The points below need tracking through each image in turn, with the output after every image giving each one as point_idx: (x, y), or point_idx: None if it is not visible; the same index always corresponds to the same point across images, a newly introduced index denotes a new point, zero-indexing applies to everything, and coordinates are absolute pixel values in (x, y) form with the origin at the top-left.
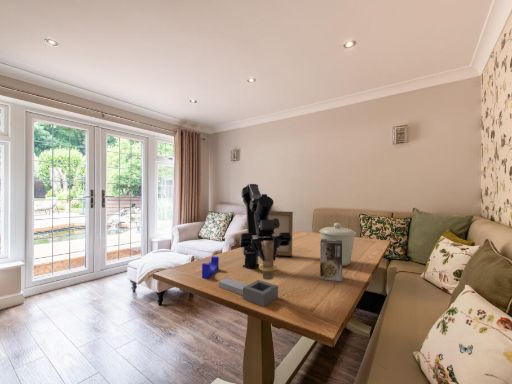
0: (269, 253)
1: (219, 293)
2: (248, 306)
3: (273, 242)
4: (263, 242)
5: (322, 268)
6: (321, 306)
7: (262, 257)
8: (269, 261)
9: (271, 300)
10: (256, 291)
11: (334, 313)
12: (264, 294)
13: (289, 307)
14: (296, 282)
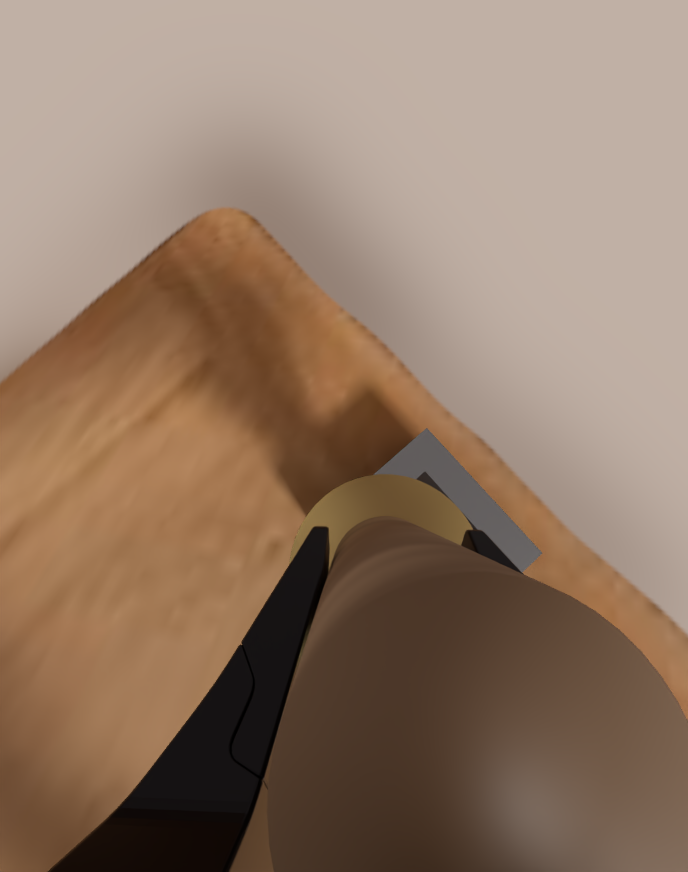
0: (410, 532)
1: (645, 643)
2: (487, 455)
3: (302, 663)
4: (670, 774)
5: None
6: (143, 393)
7: (500, 551)
8: (393, 519)
9: None
10: (462, 475)
11: (123, 329)
12: (419, 434)
13: (293, 411)
14: (121, 720)
